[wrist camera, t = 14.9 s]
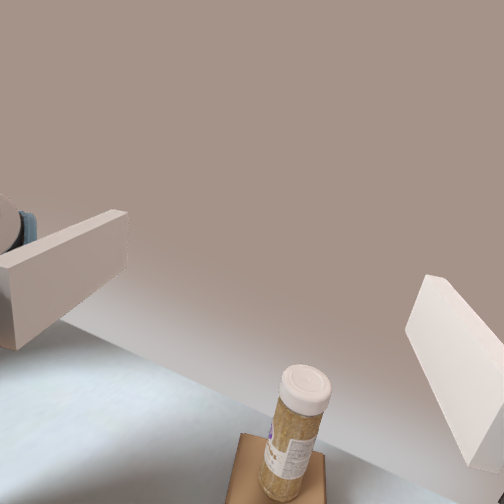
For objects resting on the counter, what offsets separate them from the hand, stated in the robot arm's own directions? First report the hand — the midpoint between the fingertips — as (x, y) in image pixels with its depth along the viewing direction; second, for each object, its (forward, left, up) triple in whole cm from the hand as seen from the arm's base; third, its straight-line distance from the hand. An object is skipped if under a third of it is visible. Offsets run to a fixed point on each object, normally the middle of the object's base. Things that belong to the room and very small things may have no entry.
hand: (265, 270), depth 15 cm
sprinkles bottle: (+5, +12, -28) cm, 31 cm away
